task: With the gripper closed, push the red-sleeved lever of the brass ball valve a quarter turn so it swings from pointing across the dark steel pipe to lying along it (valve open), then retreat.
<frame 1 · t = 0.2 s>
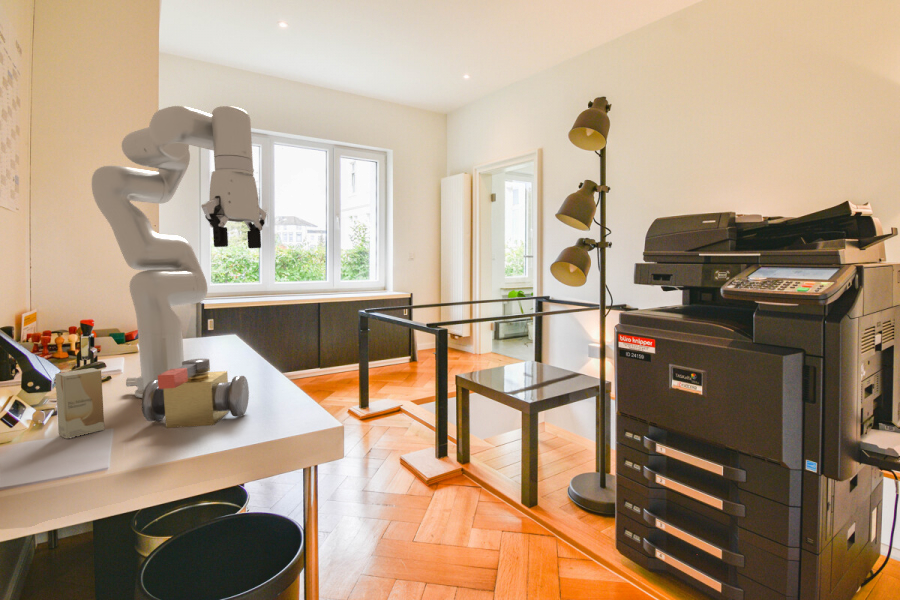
hand: (238, 247, 98), 36 cm above the table, tool pointing down, fingers open, 9 cm apart
lever: (185, 371, 89), point 11 cm above the table, hinge at 0.0°
skincare box: (83, 433, 88), on the table
valve: (199, 418, 94), on the table
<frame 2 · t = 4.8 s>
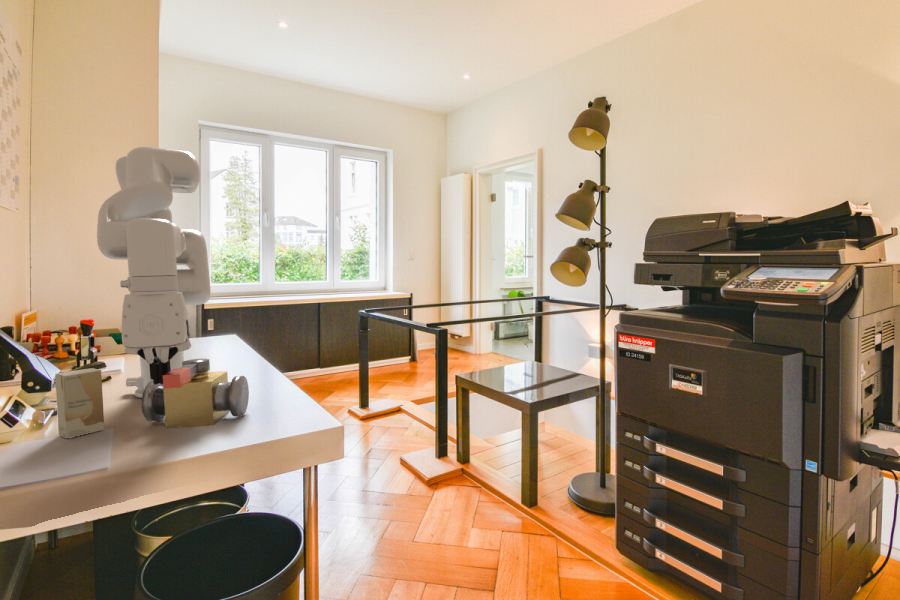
hand: (161, 382, 85), 10 cm above the table, tool pointing down, fingers closed
lever: (187, 371, 89), point 11 cm above the table, hinge at 4.1°, touching gripper
everything else where it was.
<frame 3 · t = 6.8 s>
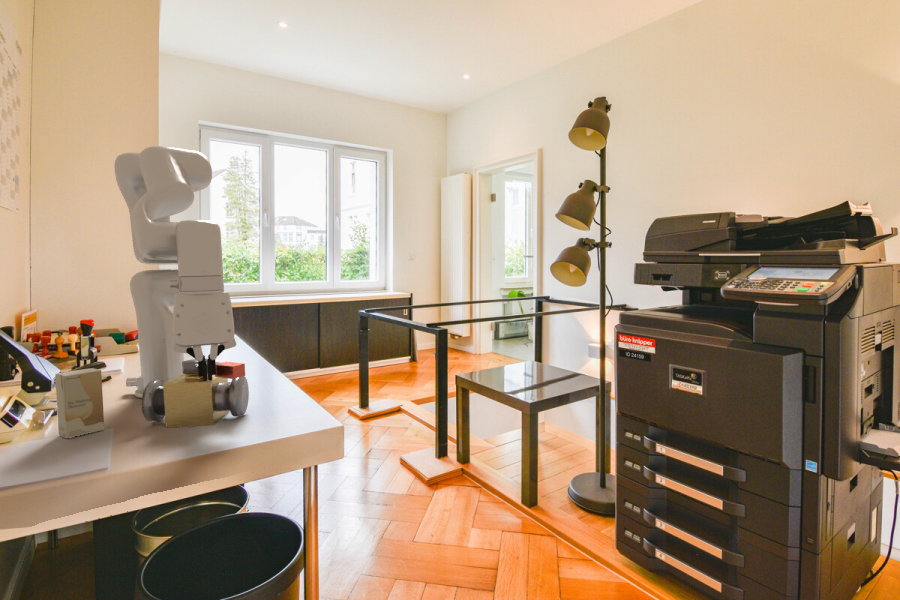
hand: (207, 379, 87), 10 cm above the table, tool pointing down, fingers closed
lever: (212, 368, 91), point 11 cm above the table, hinge at 58.1°, touching gripper
everything else where it was.
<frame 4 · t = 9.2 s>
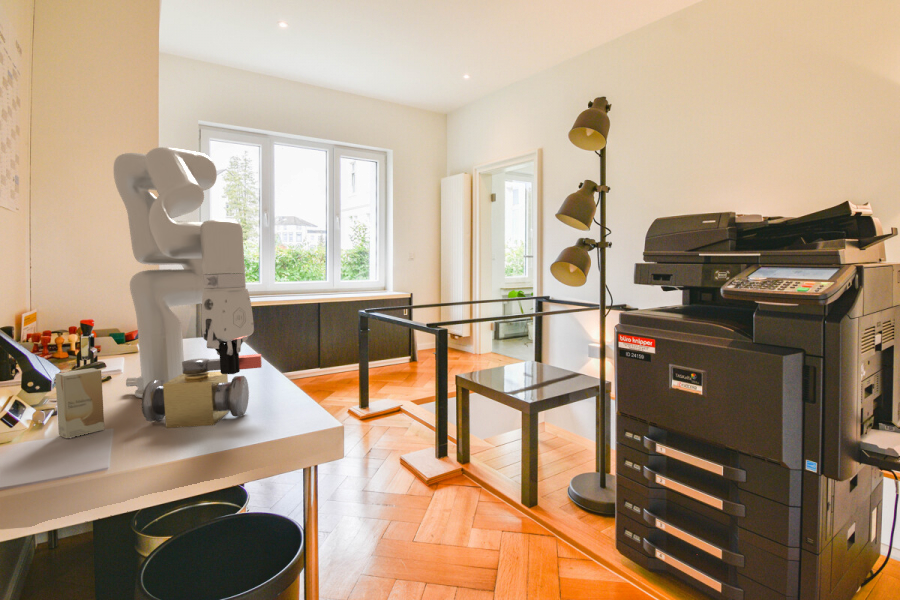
hand: (230, 372, 91), 10 cm above the table, tool pointing down, fingers closed
lever: (222, 363, 95), point 11 cm above the table, hinge at 102.9°
everything else where it was.
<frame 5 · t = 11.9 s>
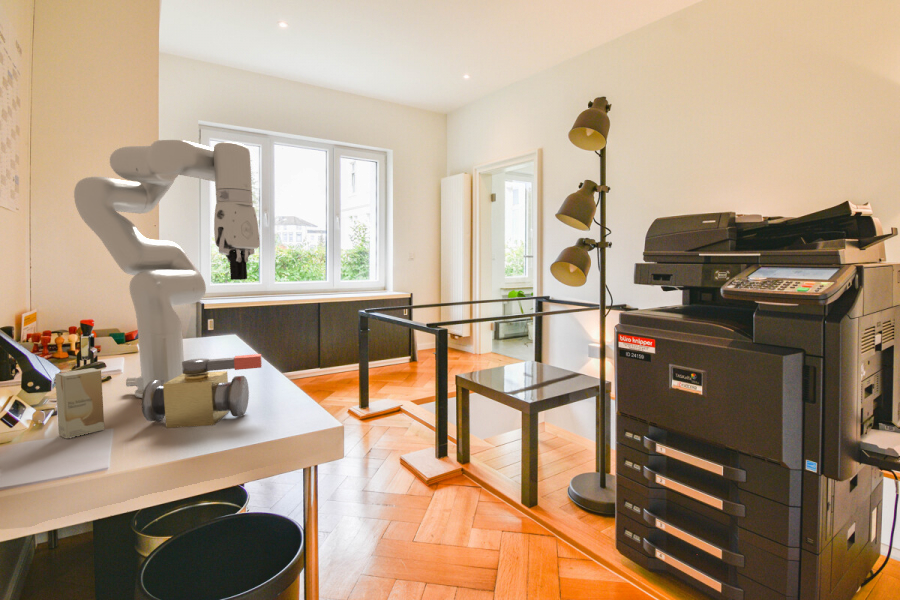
hand: (239, 279, 104), 29 cm above the table, tool pointing down, fingers closed
nothing on the table moved.
at the end: lever at +103° (first picture: +0°) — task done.
